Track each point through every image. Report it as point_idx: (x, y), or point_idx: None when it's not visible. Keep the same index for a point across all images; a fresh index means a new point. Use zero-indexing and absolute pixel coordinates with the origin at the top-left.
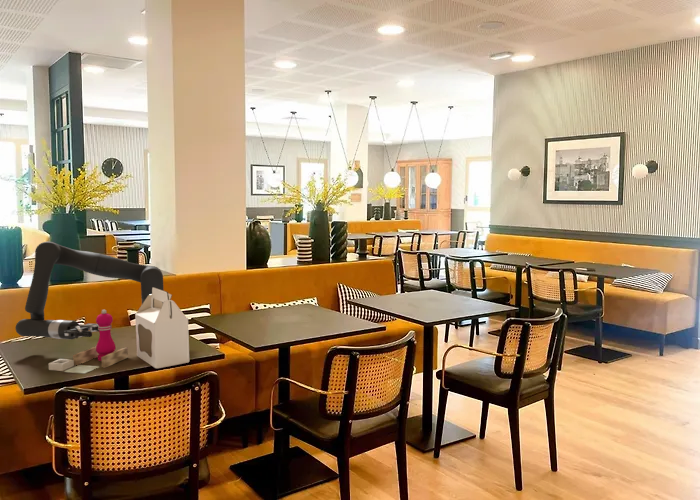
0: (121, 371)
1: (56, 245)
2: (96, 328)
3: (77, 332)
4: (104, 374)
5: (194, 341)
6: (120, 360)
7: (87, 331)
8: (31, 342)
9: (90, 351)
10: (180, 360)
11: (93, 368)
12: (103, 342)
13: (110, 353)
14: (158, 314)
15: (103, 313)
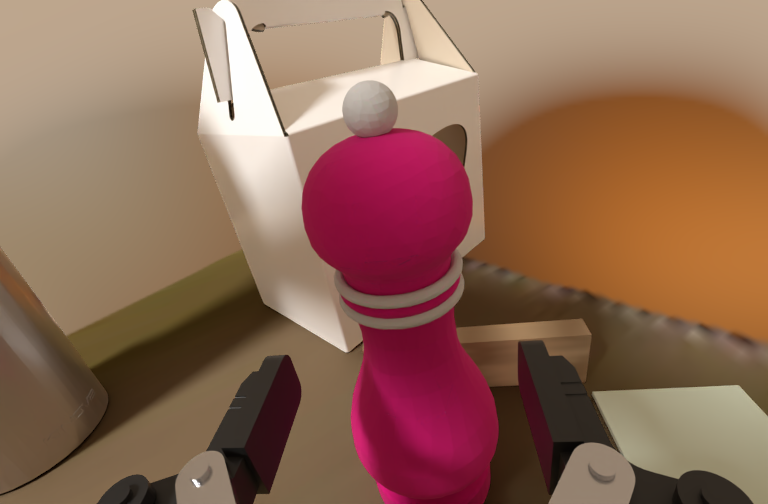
0: (571, 288)
1: None
2: (242, 488)
3: (689, 477)
4: (651, 312)
5: (147, 298)
6: None
7: (553, 367)
8: None
9: None
10: None
11: (644, 397)
12: (467, 355)
13: (502, 338)
14: (451, 42)
15: (394, 123)
